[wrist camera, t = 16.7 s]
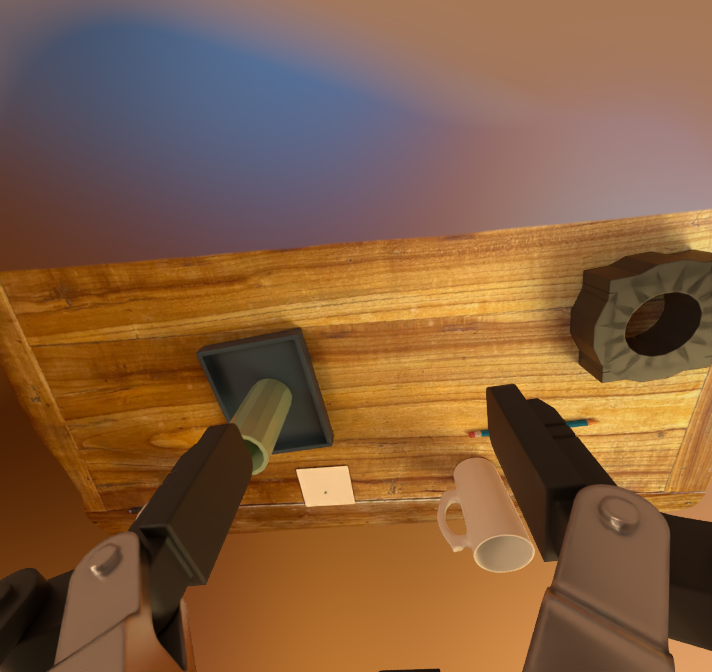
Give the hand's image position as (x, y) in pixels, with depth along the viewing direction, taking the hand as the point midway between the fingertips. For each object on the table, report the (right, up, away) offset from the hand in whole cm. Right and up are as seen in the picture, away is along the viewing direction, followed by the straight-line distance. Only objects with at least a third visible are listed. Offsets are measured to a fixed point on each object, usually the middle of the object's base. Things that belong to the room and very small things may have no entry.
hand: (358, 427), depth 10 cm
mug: (+16, -18, +39) cm, 45 cm away
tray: (-11, -5, +34) cm, 37 cm away
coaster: (-5, -21, +41) cm, 46 cm away
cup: (-11, -5, +34) cm, 36 cm away
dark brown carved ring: (+32, +6, +27) cm, 42 cm away
